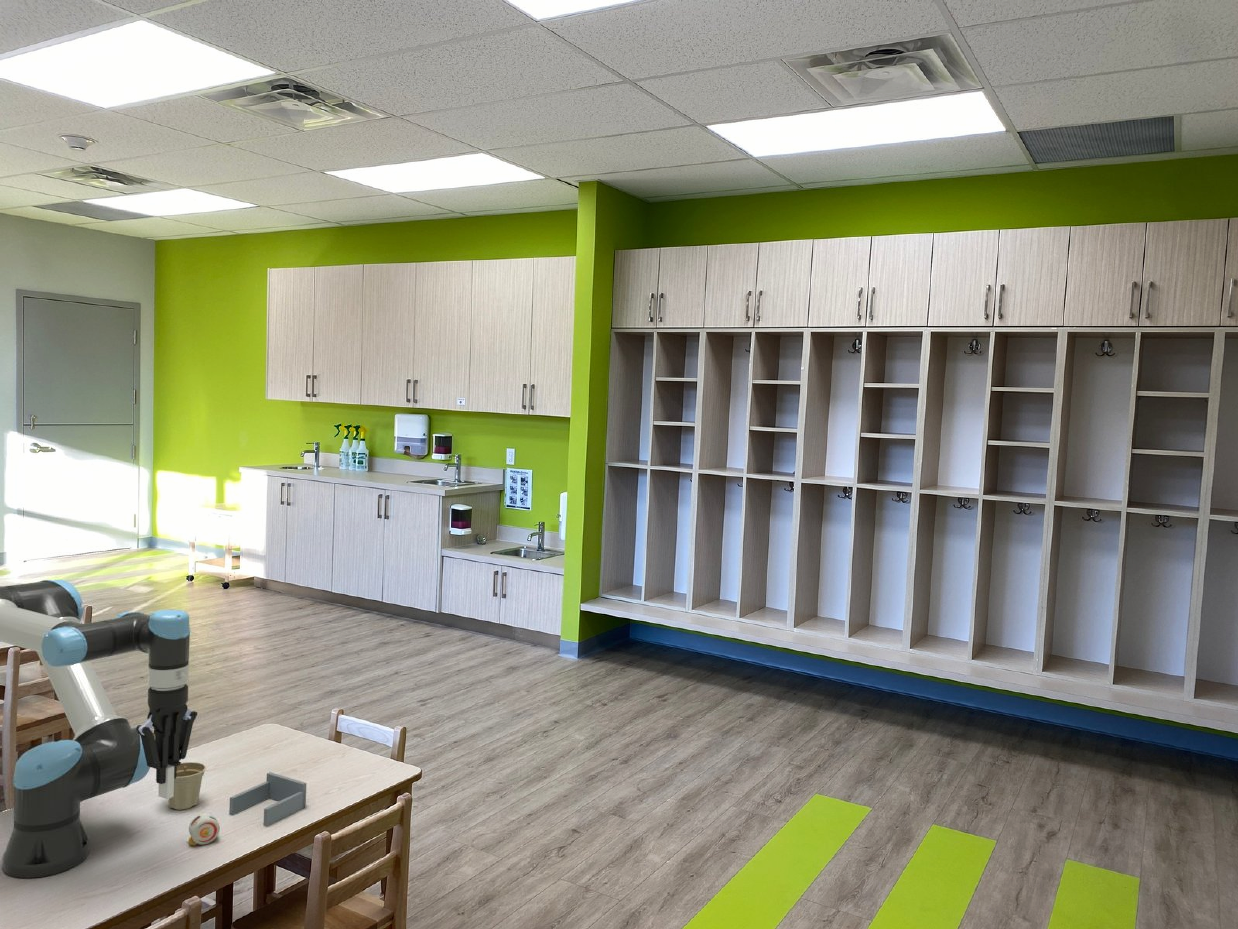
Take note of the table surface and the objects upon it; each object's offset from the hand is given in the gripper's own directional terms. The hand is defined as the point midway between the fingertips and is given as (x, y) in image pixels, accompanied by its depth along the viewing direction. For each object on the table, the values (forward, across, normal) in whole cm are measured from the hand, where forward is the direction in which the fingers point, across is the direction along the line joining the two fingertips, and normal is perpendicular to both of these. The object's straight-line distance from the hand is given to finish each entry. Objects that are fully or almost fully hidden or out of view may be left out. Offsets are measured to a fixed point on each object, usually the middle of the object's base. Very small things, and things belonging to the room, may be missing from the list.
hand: (166, 796), depth 188 cm
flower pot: (+14, +20, +19) cm, 31 cm away
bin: (+14, +28, 0) cm, 31 cm away
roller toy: (+14, +10, 0) cm, 17 cm away
